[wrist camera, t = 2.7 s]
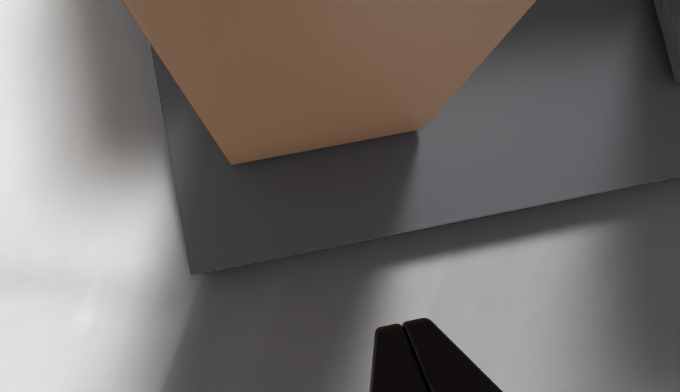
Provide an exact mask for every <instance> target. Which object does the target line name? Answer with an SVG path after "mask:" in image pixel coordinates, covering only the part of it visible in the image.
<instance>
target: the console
mask: <svg viewBox="0 0 680 392" xmlns="http://www.w3.org/2000/svg"><path fill="white" fill-rule="evenodd" d="M150 44H151V43H150ZM151 49H152V55H153V61H154V66H155V72H156V78H157V84H158V89H159V95H160V101H161V106H162V112H163V118H164V123H165V129H166V135H167V140H168V146H169V152H170V158H171V163H172V169H173V175H174V180H175V186H176V192H177V197H178V203H179V209H180V215H181V220H182V226H183V232H184V237H185V243H186V249H187V254H188V260H189V266H190V271H191V275H199V274H204V273H209V272H214V271H219V270H224V269H229V268H234V267H239V266H244V265H249V264H254V263H259V262H263V261H268V260H273V259H278V258H283V257H288V256H293V255H298V254H303V253H308V252H313V251H318V250H323V249H328V248H333V247H338V246H343V245H348V244H352V243H357V242H362V241H367V240H372V239H377V238H382V237H387V236H392V235H397V234H402V233H407V232H412V231H417V230H422V229H427V228H432V227H437V226H441V225H446V224H451V223H456V222H461V221H466V220H471V219H476V218H481V217H486V216H491V215H496V214H501V213H506V212H511V211H516V210H521V209H526V208H531V207H535V206H540V205H545V204H550V203H555V202H560V201H565V200H570V199H575V198H580V197H585V196H590V195H595V194H600V193H605V192H610V191H615V190H620V189H624V188H629V187H634V186H639V185H644V184H649V183H654V182H659V181H664V180H669V179H674V178H679V177H680V81H676V82H675V78H674V75H673V71H672V67H671V64H670V60H669V56H668V52H667V49H666V45H665V41H664V38H663V34H662V30H661V26H660V23H659V19H658V15H657V12H656V8H655V4H654V0H536V1H535V2H534V4H533V5H532V6H531V7H530V8H529V9H528V10H527V12H526V13H525V14H524V15H523V16H522V17H521V18H520V20H519V21H518V22H517V23H516V24H515V25H514V26H513V28H512V29H511V30H510V31H509V32H508V33H507V34H506V36H505V37H504V38H503V39H502V40H501V41H500V42H499V44H498V45H497V46H496V47H495V48H494V49H493V50H492V52H491V53H490V54H489V55H488V56H487V57H486V58H485V59H484V61H483V62H482V63H481V64H480V65H479V66H478V67H477V69H476V70H475V71H474V72H473V73H472V74H471V75H470V77H469V78H468V79H467V80H466V81H465V82H464V83H463V85H462V86H461V87H460V88H459V89H458V90H457V91H456V93H455V94H454V95H453V96H452V97H451V98H450V99H449V101H448V102H447V103H446V104H445V105H444V106H443V107H442V109H441V110H440V111H439V112H438V113H437V114H436V115H435V116H434V118H433V119H432V120H431V121H430V122H429V123H428V124H427V126H426V127H425V128H424V129H421V130H416V131H410V132H405V133H400V134H394V135H389V136H384V137H378V138H373V139H368V140H362V141H357V142H352V143H346V144H341V145H336V146H330V147H325V148H320V149H314V150H309V151H304V152H298V153H293V154H288V155H282V156H277V157H272V158H266V159H261V160H256V161H250V162H245V163H240V164H234V165H231V164H230V162H229V161H228V159H227V158H226V156H225V155H224V153H223V152H222V150H221V149H220V147H219V146H218V144H217V143H216V141H215V140H214V138H213V137H212V135H211V134H210V132H209V131H208V129H207V128H206V126H205V125H204V123H203V122H202V120H201V119H200V117H199V116H198V114H197V113H196V111H195V110H194V108H193V107H192V105H191V104H190V102H189V101H188V99H187V98H186V96H185V95H184V93H183V92H182V90H181V89H180V87H179V86H178V84H177V83H176V81H175V80H174V78H173V76H172V75H171V73H170V72H169V70H168V69H167V67H166V66H165V64H164V63H163V61H162V60H161V58H160V57H159V55H158V54H157V52H156V51H155V49H154V48H153V46H152V45H151Z"/></svg>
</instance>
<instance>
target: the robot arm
mask: <svg viewBox="0 0 680 392" xmlns="http://www.w3.org/2000/svg"><path fill="white" fill-rule="evenodd" d="M369 392H503V391H502V390H501V389H500V388H498V387H497V386H496V385H495V384H494V383H493V382H492V381H491V380H490V379H489V378H488V377H487V376H486V375H485V374H484V373H483V372H482V371H481V370H480V369H479V368H478V367H477V366H476V365H475V364H474V363H473V362H472V361H471V360H470V359H469V358H468V357H467V356H466V355H465V354H464V353H463V352H462V351H461V350H460V349H459V348H458V347H457V346H456V345H455V344H454V343H453V342H452V341H451V340H450V339H449V338H448V337H447V336H446V335H445V334H444V333H443V332H442V331H441V330H440V329H439V328H438V327H437V326H436V325H435V324H434V323H433V322H432V321H431V320H429V319H428V318H420V319H416V320H411V321H406V322H404V323H403V325H402V326H401V325H400V324H392V325H388V326H383V327H379V328H377V329H376V331H375V338H374V349H373V359H372V370H371V380H370V391H369Z"/></svg>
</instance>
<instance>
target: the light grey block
mask: <svg viewBox="0 0 680 392" xmlns="http://www.w3.org/2000/svg"><path fill="white" fill-rule="evenodd" d="M654 4H655V8H656V12H657V15H658V19H659V23H660V26H661V30H662V34H663V38H664V41H665V45H666V49H667V52H668V56H669V60H670V64H671V67H672V71H673V75H674V78H675V82H676V81H680V0H654Z"/></svg>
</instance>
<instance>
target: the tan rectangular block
mask: <svg viewBox="0 0 680 392" xmlns="http://www.w3.org/2000/svg"><path fill="white" fill-rule="evenodd" d="M122 1H123V3H124V4H125V6H126V7H127V9H128V10H129V12H130V13H131V15H132V16H133V18H134V19H135V21H136V22H137V24H138V25H139V27H140V28H141V30H142V31H143V33H144V34H145V36H146V37H147V39H148V40H149V42H150V43H151V45H152V46H153V48H154V49H155V51H156V52H157V54H158V55H159V57H160V58H161V60H162V61H163V63H164V64H165V66H166V67H167V69H168V70H169V72H170V73H171V75H172V76H173V78H174V80H175V81H176V83H177V84H178V86H179V87H180V89H181V90H182V92H183V93H184V95H185V96H186V98H187V99H188V101H189V102H190V104H191V105H192V107H193V108H194V110H195V111H196V113H197V114H198V116H199V117H200V119H201V120H202V122H203V123H204V125H205V126H206V128H207V129H208V131H209V132H210V134H211V135H212V137H213V138H214V140H215V141H216V143H217V144H218V146H219V147H220V149H221V150H222V152H223V153H224V155H225V156H226V158H227V159H228V161H229V162H230V164H231V165H234V164H240V163H245V162H250V161H256V160H261V159H266V158H272V157H277V156H282V155H288V154H293V153H298V152H304V151H309V150H314V149H320V148H325V147H330V146H336V145H341V144H346V143H352V142H357V141H362V140H368V139H373V138H378V137H384V136H389V135H394V134H400V133H405V132H410V131H416V130H421V129H424V128H425V127H426V126H427V124H428V123H429V122H430V121H431V120H432V119H433V118H434V116H435V115H436V114H437V113H438V112H439V111H440V110H441V109H442V107H443V106H444V105H445V104H446V103H447V102H448V101H449V99H450V98H451V97H452V96H453V95H454V94H455V93H456V91H457V90H458V89H459V88H460V87H461V86H462V85H463V83H464V82H465V81H466V80H467V79H468V78H469V77H470V75H471V74H472V73H473V72H474V71H475V70H476V69H477V67H478V66H479V65H480V64H481V63H482V62H483V61H484V59H485V58H486V57H487V56H488V55H489V54H490V53H491V52H492V50H493V49H494V48H495V47H496V46H497V45H498V44H499V42H500V41H501V40H502V39H503V38H504V37H505V36H506V34H507V33H508V32H509V31H510V30H511V29H512V28H513V26H514V25H515V24H516V23H517V22H518V21H519V20H520V18H521V17H522V16H523V15H524V14H525V13H526V12H527V10H528V9H529V8H530V7H531V6H532V5H533V4H534V2H535V1H536V0H122Z"/></svg>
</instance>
